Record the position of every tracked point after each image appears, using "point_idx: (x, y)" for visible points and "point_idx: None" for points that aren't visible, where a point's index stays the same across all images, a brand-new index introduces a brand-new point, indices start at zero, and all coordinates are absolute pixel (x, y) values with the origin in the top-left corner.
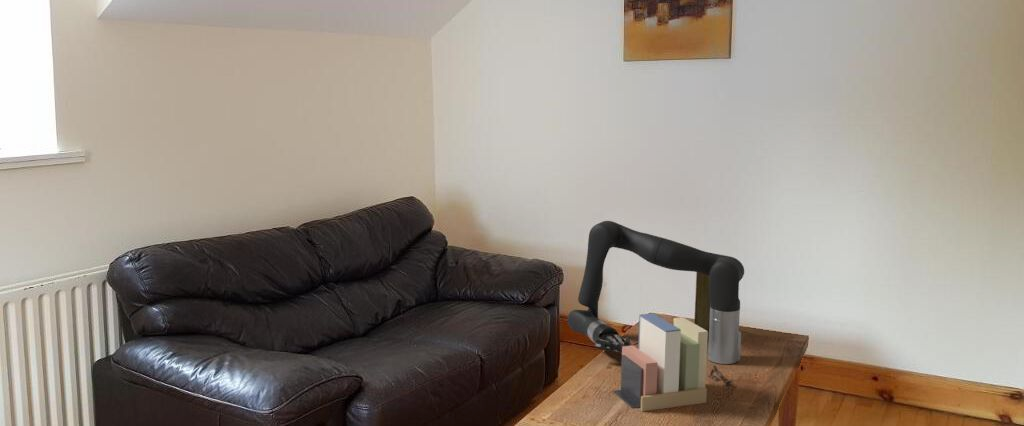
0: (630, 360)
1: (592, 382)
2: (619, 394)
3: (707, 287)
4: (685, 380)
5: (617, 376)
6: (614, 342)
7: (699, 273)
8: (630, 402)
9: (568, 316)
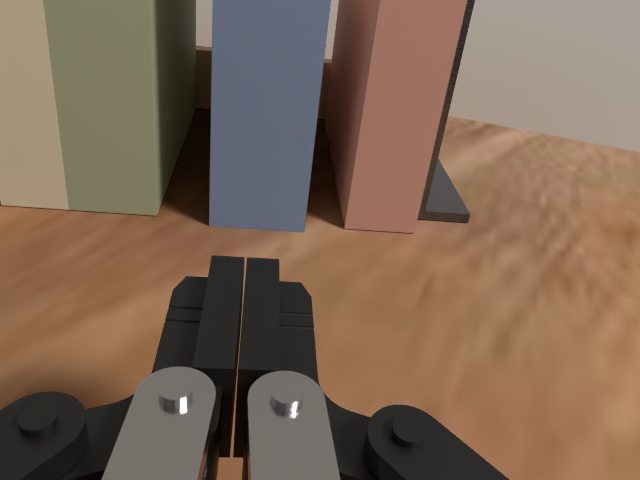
0: None
1: (592, 340)
2: (446, 186)
3: None
4: (195, 9)
5: (372, 369)
6: (315, 467)
7: None
8: None
9: None
